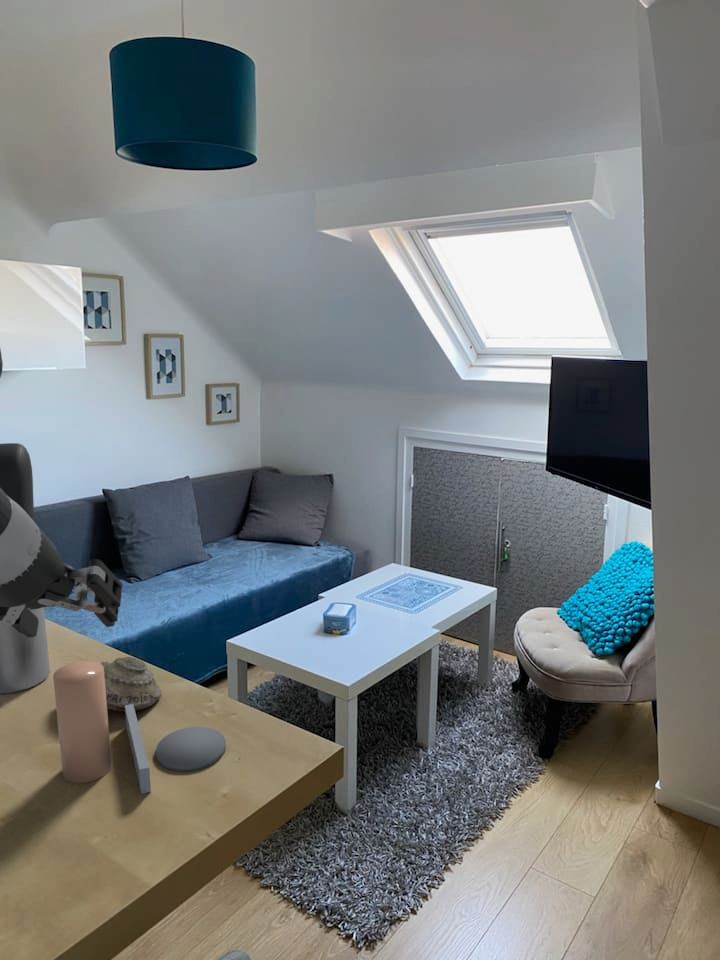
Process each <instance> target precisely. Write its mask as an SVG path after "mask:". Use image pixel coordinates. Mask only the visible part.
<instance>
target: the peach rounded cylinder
mask: <svg viewBox="0 0 720 960" xmlns="http://www.w3.org/2000/svg"><path fill="white" fill-rule="evenodd" d="M100 663H101V662H98V661H91V660H80V661H74V662H71V663H67V664H66V665H63V666H61V667H59V668H58V669H56V670H55V672H53V675H52V681H53V689H54V698H55V699H54V700H55V707H56V708H55V709H56V719H57V730H58V739H59V741H58V742H59V748H60V758H61V760H60V761H61V770H62V777H63V778H64V780H65V781H67V782H70V783H73V784H87V783H90V782H94V781H97V780H99V779H101V778H103V777H104V776H105V775H107V774H108V773H109V772H110V771H111V769H112V765H113V764H112V751H111V740H110V739H111V738H110V727H109V716H108V708H107V701H106V689H105V677H104V667H103V665H102V664H100Z"/></svg>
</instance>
